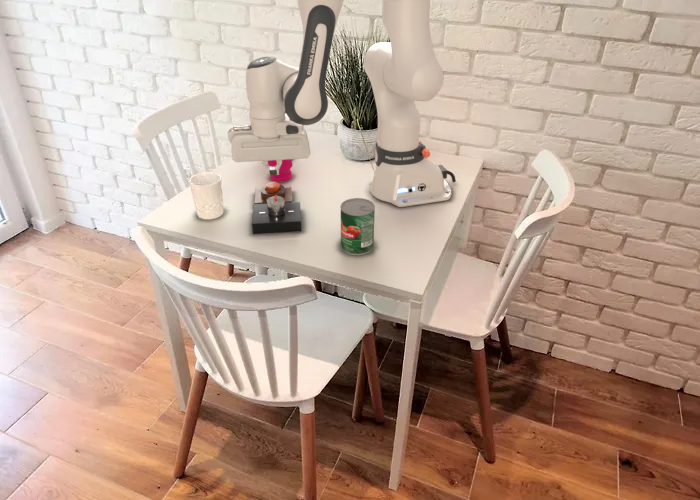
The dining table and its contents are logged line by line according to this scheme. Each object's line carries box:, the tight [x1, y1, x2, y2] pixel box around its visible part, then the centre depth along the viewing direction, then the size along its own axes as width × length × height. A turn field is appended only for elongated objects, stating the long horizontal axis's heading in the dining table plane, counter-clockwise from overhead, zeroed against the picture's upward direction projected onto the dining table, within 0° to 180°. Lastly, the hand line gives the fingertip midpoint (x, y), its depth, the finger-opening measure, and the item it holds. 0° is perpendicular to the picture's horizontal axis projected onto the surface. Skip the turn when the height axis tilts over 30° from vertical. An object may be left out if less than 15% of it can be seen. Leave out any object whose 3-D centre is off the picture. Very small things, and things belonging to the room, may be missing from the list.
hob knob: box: [267, 195, 285, 217], centre depth 140 cm, size 4×4×4 cm
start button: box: [265, 181, 280, 193], centre depth 151 cm, size 4×4×2 cm
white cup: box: [188, 171, 224, 220], centre depth 144 cm, size 8×8×10 cm
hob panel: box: [251, 201, 303, 235], centre depth 142 cm, size 12×10×3 cm
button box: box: [253, 183, 293, 204], centre depth 152 cm, size 10×8×4 cm
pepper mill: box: [268, 159, 293, 183], centre depth 159 cm, size 7×7×20 cm
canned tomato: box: [340, 197, 376, 256], centre depth 131 cm, size 8×8×11 cm
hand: (273, 174), depth 149 cm, fingers closed
